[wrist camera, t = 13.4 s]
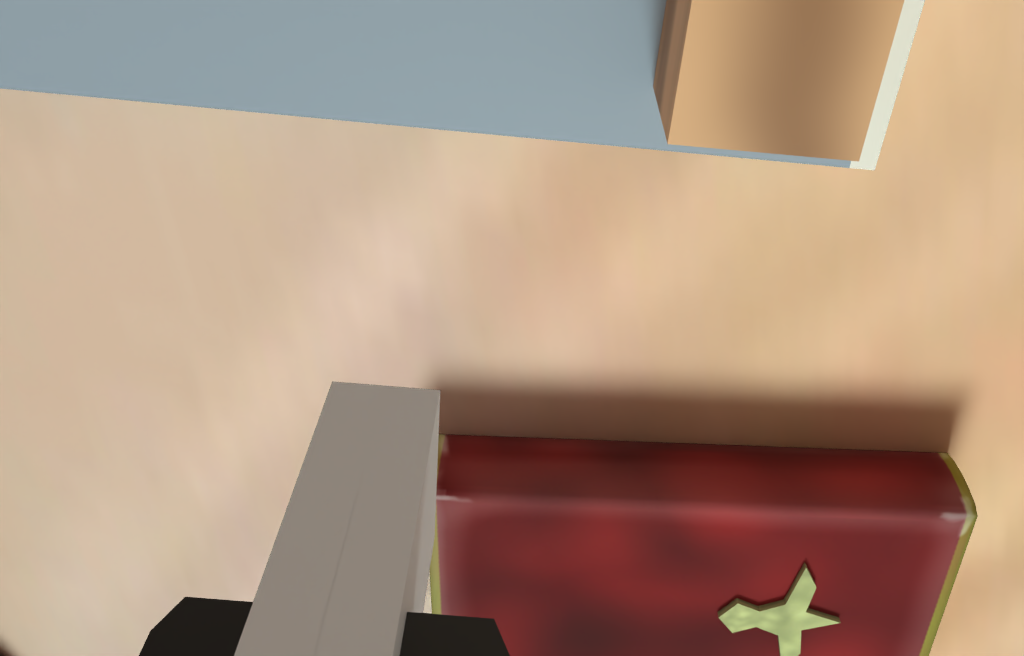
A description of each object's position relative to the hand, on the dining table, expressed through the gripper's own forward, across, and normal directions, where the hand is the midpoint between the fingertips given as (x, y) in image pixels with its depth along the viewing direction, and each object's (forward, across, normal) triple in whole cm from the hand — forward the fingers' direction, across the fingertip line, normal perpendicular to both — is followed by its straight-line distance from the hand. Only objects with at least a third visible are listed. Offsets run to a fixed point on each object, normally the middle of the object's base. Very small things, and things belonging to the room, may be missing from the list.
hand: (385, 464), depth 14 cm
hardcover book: (+22, -10, +21) cm, 31 cm away
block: (+18, -8, -3) cm, 20 cm away
